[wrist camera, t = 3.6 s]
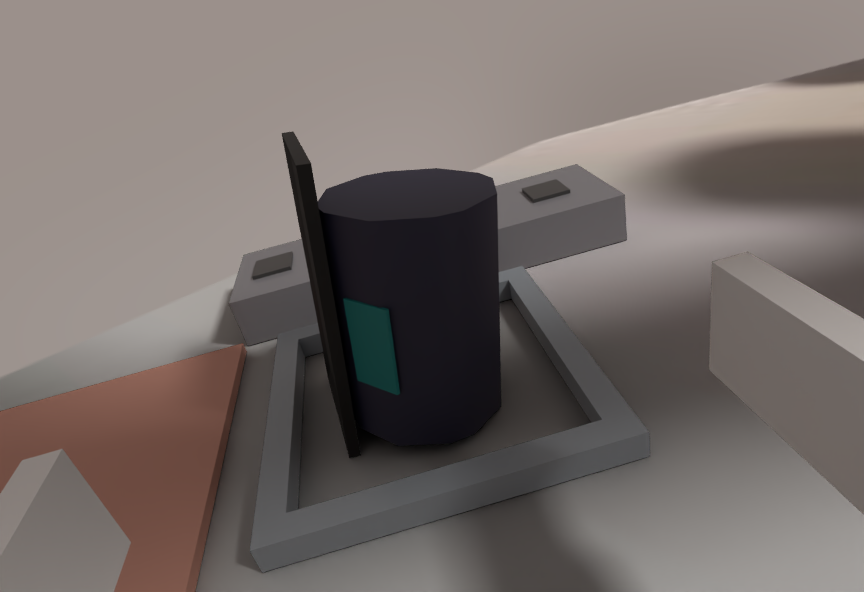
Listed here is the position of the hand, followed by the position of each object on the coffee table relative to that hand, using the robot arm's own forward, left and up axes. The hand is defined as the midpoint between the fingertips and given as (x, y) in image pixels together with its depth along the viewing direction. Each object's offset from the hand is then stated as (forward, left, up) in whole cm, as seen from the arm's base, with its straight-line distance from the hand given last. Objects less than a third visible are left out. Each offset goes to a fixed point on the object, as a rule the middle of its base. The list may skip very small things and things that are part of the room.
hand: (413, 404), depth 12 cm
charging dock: (-2, -12, -6) cm, 14 cm away
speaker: (0, -9, -7) cm, 11 cm away
